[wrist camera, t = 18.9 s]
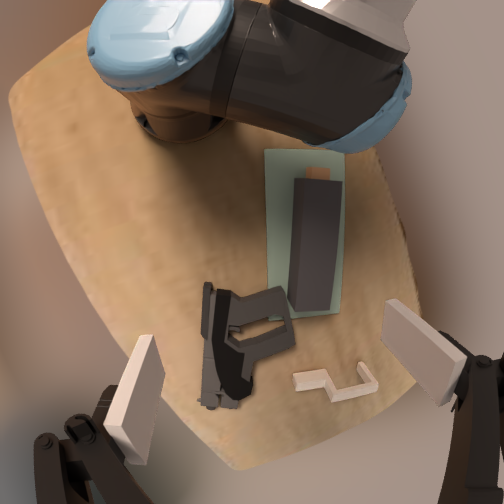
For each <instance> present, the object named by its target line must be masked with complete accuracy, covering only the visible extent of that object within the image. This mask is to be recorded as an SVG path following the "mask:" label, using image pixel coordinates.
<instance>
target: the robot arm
mask: <svg viewBox="0 0 504 504" xmlns="http://www.w3.org/2000/svg"><path fill="white" fill-rule="evenodd" d="M415 2H416V0H270V3H269V4H268V5H267V4H263V3H259V2H254V1H250V0H108V1H107V2H106V3H105V4H104V5H103V6H102V8H101V9H100V10H99V12H98V13H97V15H96V16H95V18H94V20H93V22H92V24H91V27H90V30H89V33H88V38H87V53H88V57H89V60H90V62H91V64H92V66H93V68H94V69H95V70H96V72H97V73H98V74H99V76H100V78H101V79H102V80H103V82H104V83H106V84H107V85H108V86H111V88H112V89H116V90H117V91H118V92H119V93H121V94H122V95H123V96H125V97H126V98H127V99H128V100H130V104H131V109H132V112H133V114H134V116H135V118H136V120H137V122H138V123H139V124H140V125H141V127H142V128H143V129H145V130H146V131H147V132H148V133H150V134H151V135H153V136H155V137H156V138H158V139H161V140H164V141H167V142H172V143H188V142H193V141H197V140H200V139H203V138H205V137H207V136H209V135H211V134H212V133H214V132H215V131H217V130H218V129H219V128H220V127H222V125H223V124H224V123H225V122H226V121H227V120H228V119H230V120H234V121H238V122H242V123H245V124H249V125H253V126H257V127H260V128H264V129H267V130H271V131H274V132H277V133H281V134H284V135H287V136H290V137H294V138H297V139H300V140H302V141H303V142H304V143H305V144H307V145H310V146H313V147H323V148H326V149H330V150H333V151H336V152H339V153H344V154H345V153H347V154H353V153H359V152H362V151H365V150H367V149H369V148H371V147H372V146H374V145H375V144H377V143H378V142H379V141H381V140H382V139H383V138H384V137H385V136H386V135H387V134H388V133H389V132H390V131H391V130H392V129H393V128H394V126H395V125H396V124H397V122H398V121H399V119H400V118H401V116H402V114H403V112H404V110H405V108H406V106H407V104H406V102H405V101H404V100H405V99H406V97H408V96H409V95H410V94H411V89H412V78H411V73H410V70H409V68H408V67H407V65H406V64H405V62H404V61H403V60H404V59H405V57H406V55H407V54H408V52H409V50H410V46H409V43H408V40H407V37H406V35H405V31H404V26H403V22H404V20H405V19H406V17H407V16H408V14H409V12H410V10H411V8H412V7H413V5H414V4H415ZM381 341H382V342H383V343H384V344H385V345H386V346H387V348H388V349H389V350H390V351H391V352H392V353H393V354H394V355H395V357H396V358H397V359H398V360H399V361H400V362H401V363H402V365H403V366H404V367H405V368H406V369H407V370H408V371H409V373H410V374H411V375H412V376H413V377H414V378H415V380H416V381H417V382H418V383H419V384H420V385H421V387H422V388H423V389H424V390H425V391H426V393H427V394H428V395H429V396H430V397H431V398H432V400H433V401H434V402H435V403H436V404H437V406H438V407H440V406H442V405H444V404H446V403H447V402H450V400H451V398H452V395H453V393H455V394H456V395H457V399H456V401H455V403H454V405H453V407H452V410H451V412H453V410H454V409H455V414H454V423H453V431H452V439H451V445H450V451H449V457H448V462H447V467H446V472H445V476H444V481H443V485H442V489H441V492H440V496H439V500H438V504H502V503H503V496H504V493H503V492H504V491H503V489H502V488H498V486H497V482H498V472H499V457H500V446H501V451H502V455H503V460H504V353H503V355H502V358H501V359H497V360H491V358H489V357H487V356H484V355H478V356H474V355H473V354H471V353H470V352H469V351H468V350H467V349H466V348H464V347H463V346H462V345H461V344H459V343H458V342H457V341H456V340H454V339H453V338H452V337H451V336H450V335H449V334H447V333H444V332H442V331H436V330H435V329H434V328H432V327H431V326H430V325H429V324H428V323H426V322H425V321H424V320H423V319H421V318H420V317H419V316H418V315H416V314H415V313H414V312H413V311H411V310H410V309H409V308H408V307H406V306H405V305H404V304H403V303H401V302H400V301H399V300H398V299H396V298H394V299H390V300H386V301H385V309H384V318H383V326H382V333H381ZM164 378H165V371H164V368H163V365H162V362H161V359H160V355H159V352H158V349H157V346H156V343H155V339H154V336H153V334H152V335H140V337H139V339H138V341H137V343H136V346H135V348H134V350H133V352H132V355H131V357H130V359H129V362H128V364H127V366H126V369H125V371H124V373H123V376H122V378H121V381H120V383H119V385H110V386H108V387H107V388H106V389H105V390H104V391H103V393H102V395H101V398H100V401H99V402H98V404H97V407H96V409H95V411H94V414H93V416H92V418H91V417H90V416H89V415H86V414H76V415H74V416H72V417H70V418H69V419H68V420H67V421H66V422H65V425H64V431H65V432H66V434H67V435H68V436H69V438H70V439H65V440H59V439H58V438H57V437H56V436H55V435H54V434H52V433H43V434H41V435H40V436H38V437H37V438H36V440H35V442H34V475H35V488H36V497H37V504H94V500H93V497H92V493H91V489H90V485H89V481H88V480H93V482H94V483H95V485H96V487H97V489H98V490H99V492H100V494H101V495H102V497H103V499H104V500H105V502H106V503H107V504H154V503H153V502H152V500H151V499H150V498H149V497H148V496H147V494H146V493H145V492H144V491H143V489H142V488H141V487H140V486H139V484H138V483H137V482H136V481H135V479H134V478H133V477H132V475H131V474H130V472H129V471H128V470H127V468H126V467H125V466H124V459H125V458H126V459H127V460H128V462H129V463H130V464H136V465H137V464H138V465H147V459H148V454H149V449H150V443H151V438H152V433H153V428H154V423H155V418H156V414H157V409H158V404H159V399H160V395H161V391H162V386H163V382H164Z"/></svg>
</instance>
